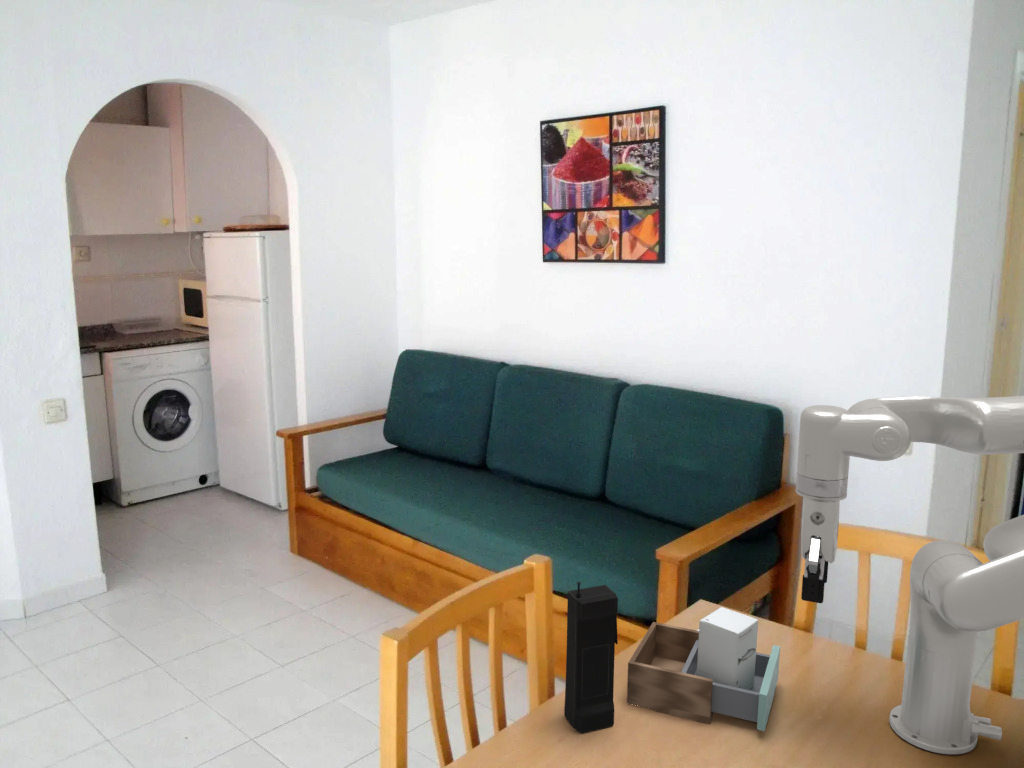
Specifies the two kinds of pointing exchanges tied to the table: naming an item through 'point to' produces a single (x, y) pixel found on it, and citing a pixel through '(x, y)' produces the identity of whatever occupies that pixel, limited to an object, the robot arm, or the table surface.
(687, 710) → the box
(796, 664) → the table surface
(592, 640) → the portable radio
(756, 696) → the drawer
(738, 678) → the supplement box
